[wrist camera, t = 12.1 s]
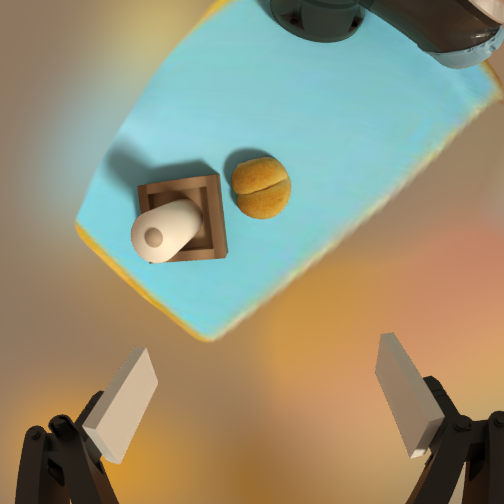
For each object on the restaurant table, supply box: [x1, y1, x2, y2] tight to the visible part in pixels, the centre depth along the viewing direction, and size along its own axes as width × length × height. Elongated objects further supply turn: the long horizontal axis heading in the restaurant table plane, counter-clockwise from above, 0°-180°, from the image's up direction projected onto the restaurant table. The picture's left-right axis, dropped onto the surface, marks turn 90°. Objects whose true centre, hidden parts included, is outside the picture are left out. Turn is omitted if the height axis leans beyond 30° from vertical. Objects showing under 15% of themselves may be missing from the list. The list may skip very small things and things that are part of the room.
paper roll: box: [131, 199, 203, 263], centre depth 37 cm, size 6×6×12 cm
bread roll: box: [232, 156, 291, 219], centre depth 40 cm, size 8×9×4 cm
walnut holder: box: [137, 174, 228, 263], centre depth 42 cm, size 12×12×3 cm
